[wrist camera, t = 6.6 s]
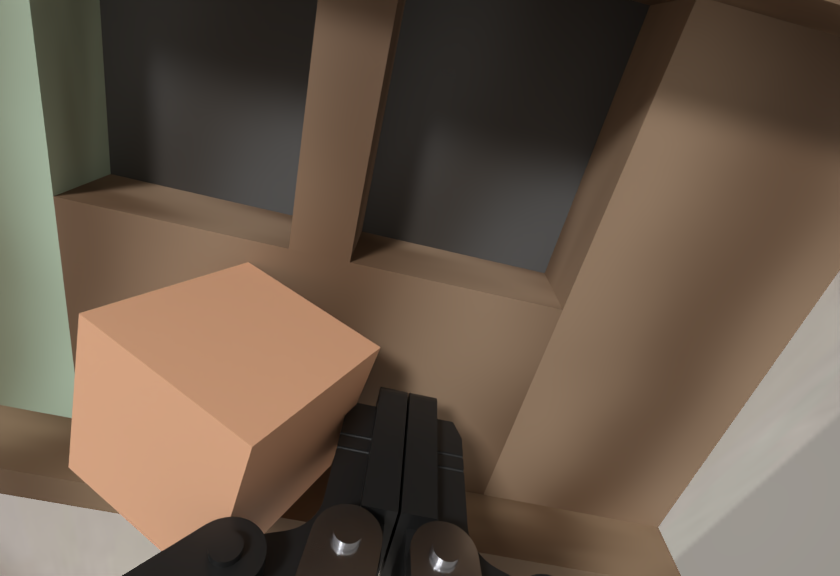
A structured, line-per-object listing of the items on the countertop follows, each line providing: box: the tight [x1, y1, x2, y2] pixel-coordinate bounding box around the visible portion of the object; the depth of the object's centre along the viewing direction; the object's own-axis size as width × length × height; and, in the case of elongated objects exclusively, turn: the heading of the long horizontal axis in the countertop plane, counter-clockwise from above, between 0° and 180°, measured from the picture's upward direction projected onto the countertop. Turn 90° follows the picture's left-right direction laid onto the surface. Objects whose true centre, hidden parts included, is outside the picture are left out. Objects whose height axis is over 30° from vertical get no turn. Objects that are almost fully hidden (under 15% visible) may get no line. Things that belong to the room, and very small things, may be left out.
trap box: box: [0, 0, 840, 576], centre depth 12 cm, size 25×16×4 cm, turn 77°
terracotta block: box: [69, 262, 381, 551], centre depth 10 cm, size 4×4×4 cm
